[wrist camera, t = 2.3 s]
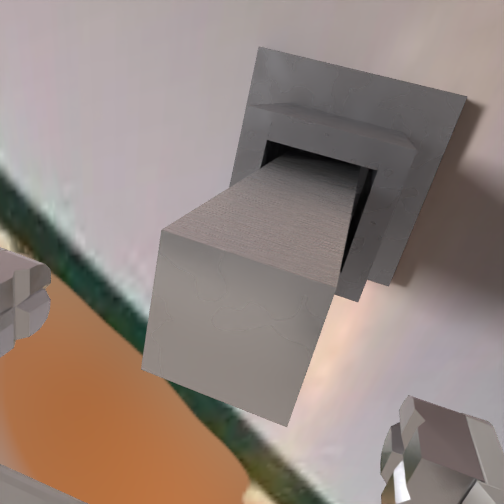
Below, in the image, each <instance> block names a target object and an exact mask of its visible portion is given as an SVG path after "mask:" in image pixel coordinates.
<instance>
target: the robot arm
mask: <svg viewBox="0 0 504 504" xmlns="http://www.w3.org/2000/svg"><path fill="white" fill-rule="evenodd" d="M50 283H51V270H50V269H49V268H48V267H47V266H46V264H43V263H40V262H38V261H35V260H33V259H30V258H27V257H25V256H22V255H20V254H17V253H14V252H12V251H8V250H6V249H4V248H1V247H0V357H1V356H3V355H4V354H6V353H7V352H9V351H10V350H11V349H13V348H14V345H15V340H17V339H22V338H25V337H30V336H31V335H32V334H34V333H35V332H36V331H38V330H39V329H40V328H41V326H42V325H43V323H44V322H45V321H46V319H47V317H48V313H49V310H50V298H49V296H48V294H47V292H46V291H45V288H46V287H47V286H48V285H49V284H50ZM399 415H400V423H397V424H395V425H393V426H391V427H390V430H389V432H388V434H387V436H386V438H385V442H384V445H383V449H382V453H381V463H380V468H381V476H382V477H383V479H384V481H385V482H386V486H385V488H384V490H383V492H382V494H381V504H504V453H503V450H502V448H501V445H500V443H499V440H498V437H497V435H496V432H495V429H494V427H493V426H492V425H491V424H490V423H489V422H488V421H485V420H482V419H479V418H476V417H473V416H470V415H467V414H464V413H459V412H456V411H453V410H450V409H447V408H444V407H441V406H438V405H436V404H433V403H430V402H427V401H424V400H421V399H418V398H415V397H412V396H410V395H408V397H407V398H406V399H405V400H404V402H403V404H402V405H401V407H400V409H399ZM0 504H88V503H85V502H83V501H81V500H79V499H76V498H74V497H72V496H70V495H68V494H65V493H63V492H61V491H59V490H56V489H54V488H52V487H50V486H48V485H46V484H43V483H41V482H39V481H37V480H35V479H32V478H30V477H28V476H25V475H24V474H21V473H19V472H17V471H14V470H12V469H10V468H8V467H6V466H4V465H1V464H0Z"/></svg>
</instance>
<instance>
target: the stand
mask: <svg viewBox="0 0 504 504" xmlns="http://www.w3.org/2000/svg"><path fill="white" fill-rule="evenodd" d="M466 99H467V96H463V95H459V94H455V93H450V92H446V91H442V90H438V89H434V88H430V87H425V86H421V85H417V84H413V83H409V82H405V81H400V80H396V79H392V78H388V77H384V76H380V75H375V74H371V73H367V72H363V71H359V70H355V69H350V68H346V67H342V66H338V65H334V64H330V63H325V62H321V61H317V60H313V59H309V58H305V57H301V56H296V55H292V54H288V53H284V52H280V51H276V50H271V49H267V48H263V47H259V48H258V53H257V58H256V63H255V67H254V72H253V77H252V82H251V86H250V91H249V96H248V101H247V105H246V110H245V115H244V120H243V125H242V129H241V134H240V139H239V144H238V148H237V153H236V158H235V163H234V167H233V172H232V177H231V182H230V187H231V186H233V185H234V184H236V183H238V182H239V181H241V180H243V179H244V178H246V177H247V176H249V175H251V174H252V173H254V172H255V171H257V170H259V169H260V168H262V167H263V166H265V165H267V164H268V163H270V162H271V161H273V160H275V159H276V158H278V157H279V156H281V155H283V154H284V153H286V152H288V151H289V150H291V149H292V148H294V147H295V148H298V149H302V150H306V151H309V152H313V153H316V154H320V155H324V156H327V157H331V158H334V159H338V160H342V161H345V162H349V163H352V164H356V165H359V166H361V168H360V173H359V178H358V183H357V188H356V193H355V198H354V203H353V208H352V213H351V218H350V223H349V228H348V233H347V238H346V243H345V248H344V253H343V258H342V263H341V268H340V273H339V278H338V283H337V288H336V291H335V295H338V296H341V297H344V298H347V299H350V300H353V301H356V302H358V301H359V299H360V296H361V294H362V291H363V288H364V286H365V283H366V281H367V280H370V281H373V282H377V283H380V284H383V285H386V286H389V284H390V282H391V280H392V277H393V275H394V272H395V270H396V268H397V265H398V263H399V260H400V258H401V256H402V253H403V251H404V248H405V246H406V244H407V241H408V239H409V236H410V234H411V231H412V229H413V227H414V224H415V222H416V219H417V217H418V215H419V212H420V210H421V207H422V205H423V203H424V200H425V198H426V195H427V193H428V191H429V188H430V186H431V183H432V181H433V178H434V176H435V174H436V171H437V169H438V166H439V164H440V162H441V159H442V157H443V154H444V152H445V150H446V147H447V145H448V142H449V140H450V138H451V135H452V133H453V130H454V128H455V125H456V123H457V121H458V118H459V116H460V113H461V111H462V109H463V106H464V104H465V101H466ZM230 187H229V188H230Z"/></svg>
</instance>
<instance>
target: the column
mask: <svg viewBox="0 0 504 504" xmlns="http://www.w3.org/2000/svg"><path fill="white" fill-rule="evenodd" d="M360 168H361V166H359V165H356V164H352V163H349V162H345V161H342V160H338V159H334V158H331V157H327V156H324V155H320V154H316V153H313V152H309V151H306V150H302V149H298V148H295V147H294V148H292V149H291V150H289V151H288V152H286V153H284V154H283V155H281V156H279V157H278V158H276V159H275V160H273V161H271V162H270V163H268V164H267V165H265V166H263V167H262V168H260V169H259V170H257V171H255V172H254V173H252V174H251V175H249V176H247V177H246V178H244V179H243V180H241V181H239V182H238V183H236V184H234V185H233V186H231V187H230V188H228V189H226V190H225V191H223V192H222V193H220V194H218V195H217V196H215V197H214V198H212V199H210V200H209V201H207V202H206V203H204V204H202V205H201V206H199V207H198V208H196V209H194V210H193V211H191V212H189V213H188V214H186V215H185V216H183V217H181V218H180V219H178V220H177V221H175V222H173V223H172V224H170V225H169V226H167V227H165V228H164V229H162V230H161V237H160V244H159V251H158V258H157V265H156V271H155V278H154V285H153V292H152V299H151V306H150V312H149V319H148V326H147V333H146V340H145V346H144V353H143V360H142V368H141V369H142V370H144V371H147V372H149V373H152V374H154V375H157V376H159V377H162V378H164V379H167V380H169V381H172V382H174V383H177V384H179V385H182V386H184V387H187V388H189V389H192V390H194V391H197V392H199V393H202V394H204V395H207V396H209V397H212V398H215V399H217V400H220V401H222V402H225V403H227V404H230V405H232V406H235V407H237V408H240V409H242V410H245V411H247V412H250V413H252V414H255V415H257V416H260V417H262V418H265V419H267V420H270V421H272V422H275V423H277V424H280V425H283V426H285V427H287V425H288V423H289V420H290V417H291V414H292V411H293V409H294V406H295V403H296V400H297V397H298V395H299V392H300V389H301V386H302V383H303V381H304V378H305V375H306V372H307V369H308V367H309V364H310V361H311V358H312V355H313V353H314V350H315V347H316V344H317V341H318V338H319V336H320V333H321V330H322V327H323V324H324V322H325V319H326V316H327V313H328V310H329V308H330V305H331V302H332V299H333V296H334V294H335V291H336V288H337V283H338V278H339V273H340V268H341V263H342V258H343V253H344V248H345V243H346V238H347V233H348V228H349V223H350V218H351V213H352V208H353V203H354V198H355V193H356V188H357V183H358V178H359V173H360Z"/></svg>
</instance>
